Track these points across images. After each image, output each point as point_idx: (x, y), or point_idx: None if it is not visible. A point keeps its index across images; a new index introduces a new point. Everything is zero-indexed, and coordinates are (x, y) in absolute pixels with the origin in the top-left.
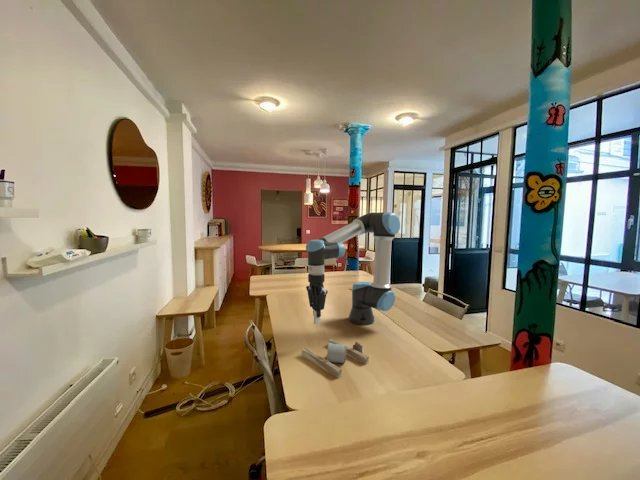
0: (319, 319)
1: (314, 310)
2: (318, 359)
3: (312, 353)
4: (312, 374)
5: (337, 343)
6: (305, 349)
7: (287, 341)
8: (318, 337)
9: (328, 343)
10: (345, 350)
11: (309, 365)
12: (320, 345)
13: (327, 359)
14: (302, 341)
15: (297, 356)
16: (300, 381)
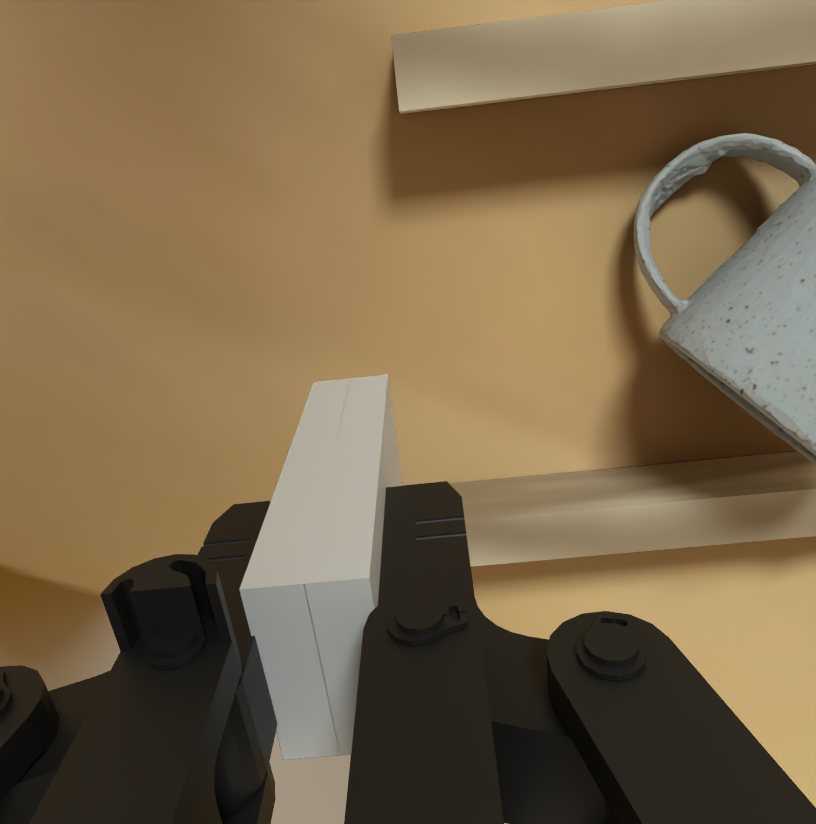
0: (389, 433)
1: (330, 745)
2: (749, 539)
3: (605, 528)
4: (787, 610)
5: (593, 75)
6: (474, 542)
7: (42, 495)
8: (84, 78)
9: (808, 438)
10: None
11: (648, 558)
12: (335, 212)
13: (804, 448)
14: (116, 349)
15: None
16: (792, 720)
